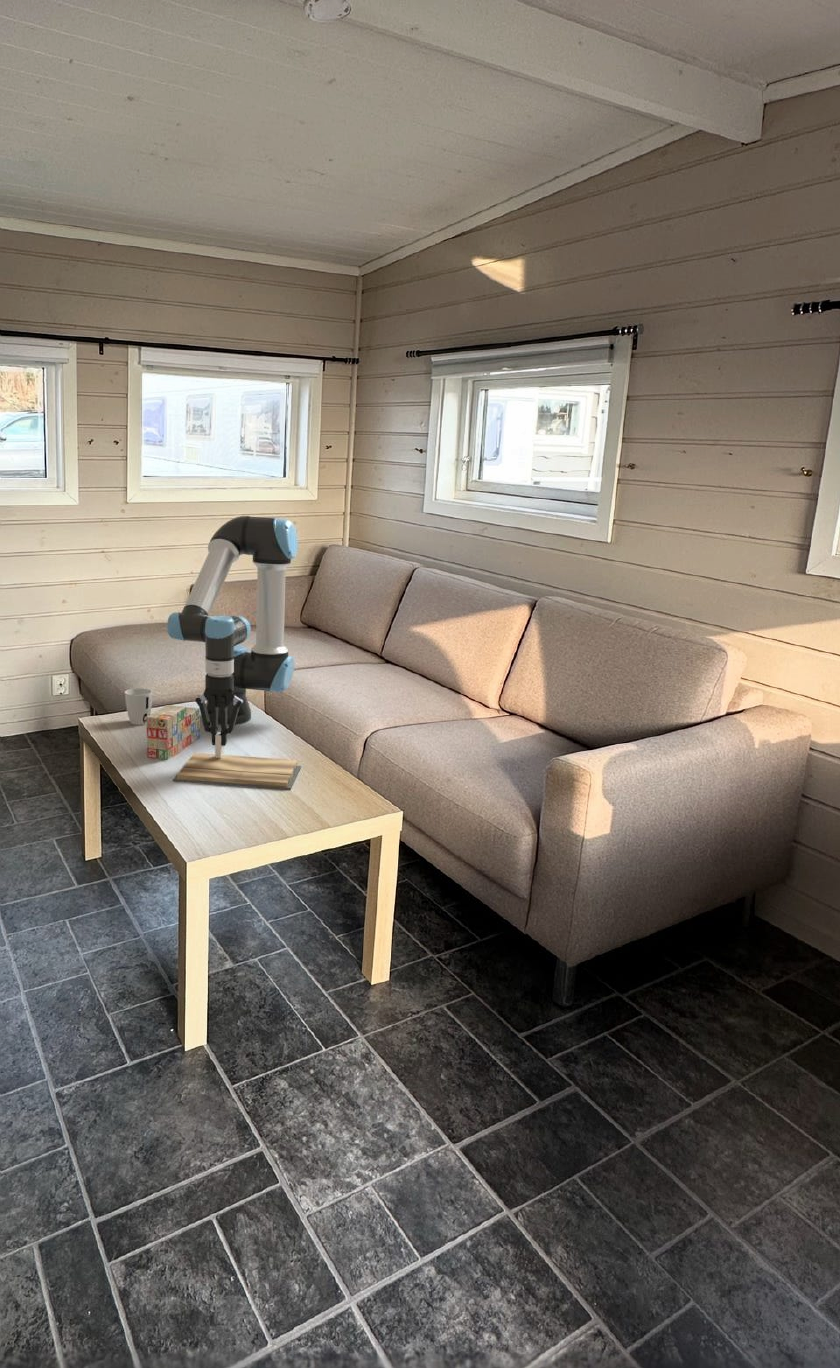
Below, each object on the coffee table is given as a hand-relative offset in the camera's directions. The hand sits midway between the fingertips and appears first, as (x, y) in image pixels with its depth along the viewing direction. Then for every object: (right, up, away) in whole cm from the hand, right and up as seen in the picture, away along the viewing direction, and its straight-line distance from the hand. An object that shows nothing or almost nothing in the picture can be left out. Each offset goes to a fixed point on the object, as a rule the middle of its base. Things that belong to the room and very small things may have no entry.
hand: (219, 756), depth 251 cm
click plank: (+7, -3, -3) cm, 8 cm away
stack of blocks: (-16, +1, +12) cm, 20 cm away
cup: (-32, +8, +32) cm, 46 cm away
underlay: (+7, -4, -6) cm, 10 cm away
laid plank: (+6, -6, -11) cm, 14 cm away
